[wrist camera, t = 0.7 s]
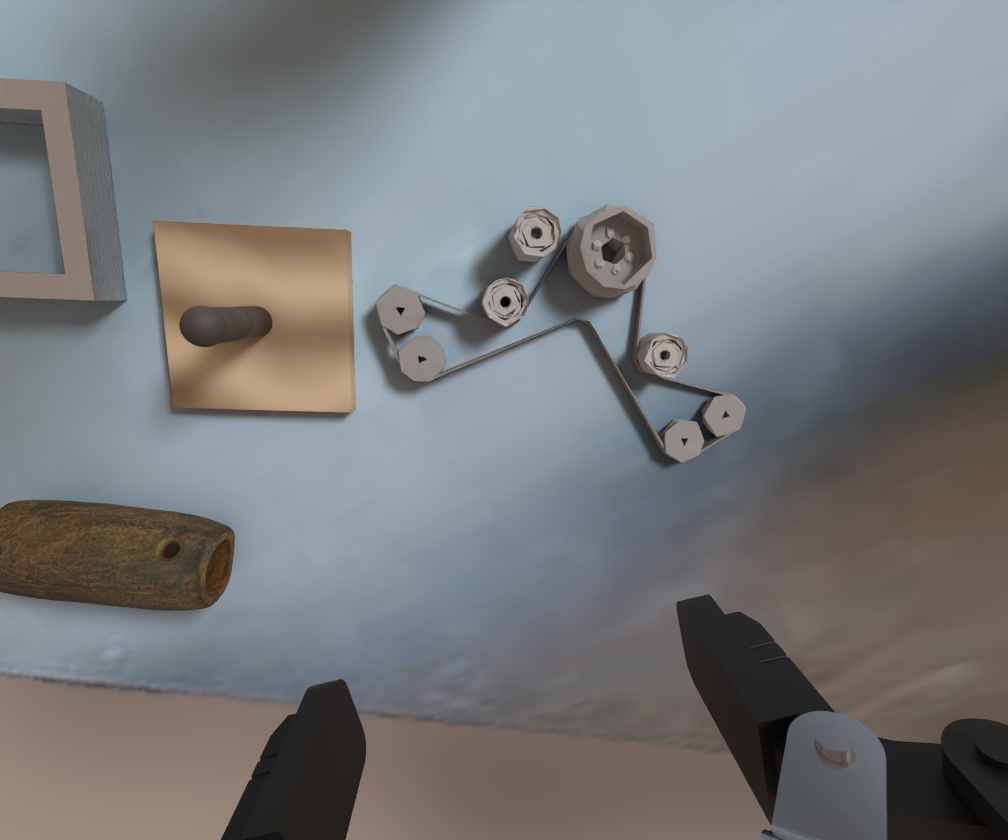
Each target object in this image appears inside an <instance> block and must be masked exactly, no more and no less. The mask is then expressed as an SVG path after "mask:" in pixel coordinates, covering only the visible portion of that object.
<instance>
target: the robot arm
mask: <svg viewBox="0 0 1008 840" xmlns="http://www.w3.org/2000/svg"><path fill="white" fill-rule="evenodd" d="M676 606H677V613H678V619H679V625H680V630H681V636H682V642H683V647H684V653H685V658H686V662H687V666H688V669H689V672H690V675H691V677H692V680H693V682H694V684H695V686H696V688H697V690H698V692H699V694H700V696H701V697H702V699H703V701H704V703H705V705H706V707H707V708H708V710H709V712H710V714H711V716H712V718H713V720H714V721H715V723H716V725H717V727H718V729H719V731H720V732H721V734H722V736H723V738H724V740H725V742H726V743H727V745H728V747H729V749H730V751H731V753H732V754H733V756H734V758H735V760H736V762H737V763H738V766H739V767H740V769H741V771H742V773H743V775H744V776H745V778H746V780H747V782H748V784H749V786H750V788H751V789H752V791H753V793H754V795H755V797H756V799H757V800H758V802H759V804H760V806H761V808H762V809H763V812H764V813H765V815H766V817H767V819H768V820H769V822H770V824H771V828H770V831H767V830H763V831H762V833H761V835H760V838H759V840H1008V725H1006V724H1003V723H1000V722H995V721H991V720H985V719H974V718H969V719H961V720H957V721H954V722H952V723H950V724H949V725H948V726H946V727H945V729H944V730H943V732H942V736H941V744H933V743H918V742H902V741H893V740H887V739H883V738H879V737H876V736H875V734H874V733H873V732H871V731H870V730H869V729H868V728H867V727H866V726H864V725H863V724H861V723H860V722H858V721H856V720H854V719H852V718H850V717H848V716H845V715H842V714H839V713H836V712H835V711H834V710H833V709H832V708H831V707H830V706H829V704H828V703H827V702H826V701H825V700H824V699H823V697H822V696H821V695H820V694H819V693H818V691H817V690H816V689H815V688H814V687H813V685H812V684H811V683H810V682H809V681H808V680H807V678H806V677H805V676H804V675H803V674H802V672H801V671H800V670H799V669H798V668H797V667H796V665H795V664H794V663H793V662H792V661H791V659H790V658H787V656H786V653H785V652H784V651H783V650H782V649H781V648H780V646H779V645H778V644H776V643H775V641H774V639H773V638H772V637H771V636H770V634H769V633H768V632H767V631H766V630H765V629H764V627H763V626H762V625H761V624H760V623H758V622H757V621H755V620H753V619H752V618H750V617H748V616H746V615H745V614H743V613H741V612H735V613H731V614H726V615H725V614H724V613H723V612H722V610H721V609H720V608H719V606H718V605H717V604H716V602H715V601H714V600H713V598H712V597H711V596H710V595H703V596H699V597H695V598H691V599H686V600H682V601H678V602H677V605H676ZM365 758H366V740H365V734H364V730H363V727H362V724H361V722H360V719H359V716H358V714H357V711H356V708H355V705H354V703H353V700H352V697H351V695H350V692H349V689H348V687H347V684H346V683H345V681H344V680H342V679H339V680H335V681H331V682H327V683H322V684H318V685H314V686H310V687H309V688H308V689H307V690H306V692H305V695H304V697H303V699H302V701H301V704H300V706H299V708H298V710H297V713H296V714H292V715H288V716H287V717H286V719H285V720H284V721H283V722H282V723H281V725H280V726H279V727H278V728H277V729H276V730H275V731H274V733H273V734H272V735H271V736H270V738H269V740H268V742H267V744H266V747H265V749H264V751H263V753H262V755H261V757H260V762H258V763H257V766H256V767H255V770H254V772H253V774H252V779H251V780H250V781H249V782H248V784H247V786H246V788H245V791H244V793H243V795H242V797H241V799H240V801H239V803H238V805H237V807H236V809H235V811H234V813H233V816H232V818H231V820H230V822H229V824H228V826H227V828H226V830H225V832H224V834H223V836H222V838H221V840H345V839H346V835H347V831H348V827H349V823H350V819H351V815H352V811H353V807H354V803H355V799H356V795H357V791H358V787H359V783H360V779H361V775H362V771H363V767H364V763H365Z"/></svg>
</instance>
